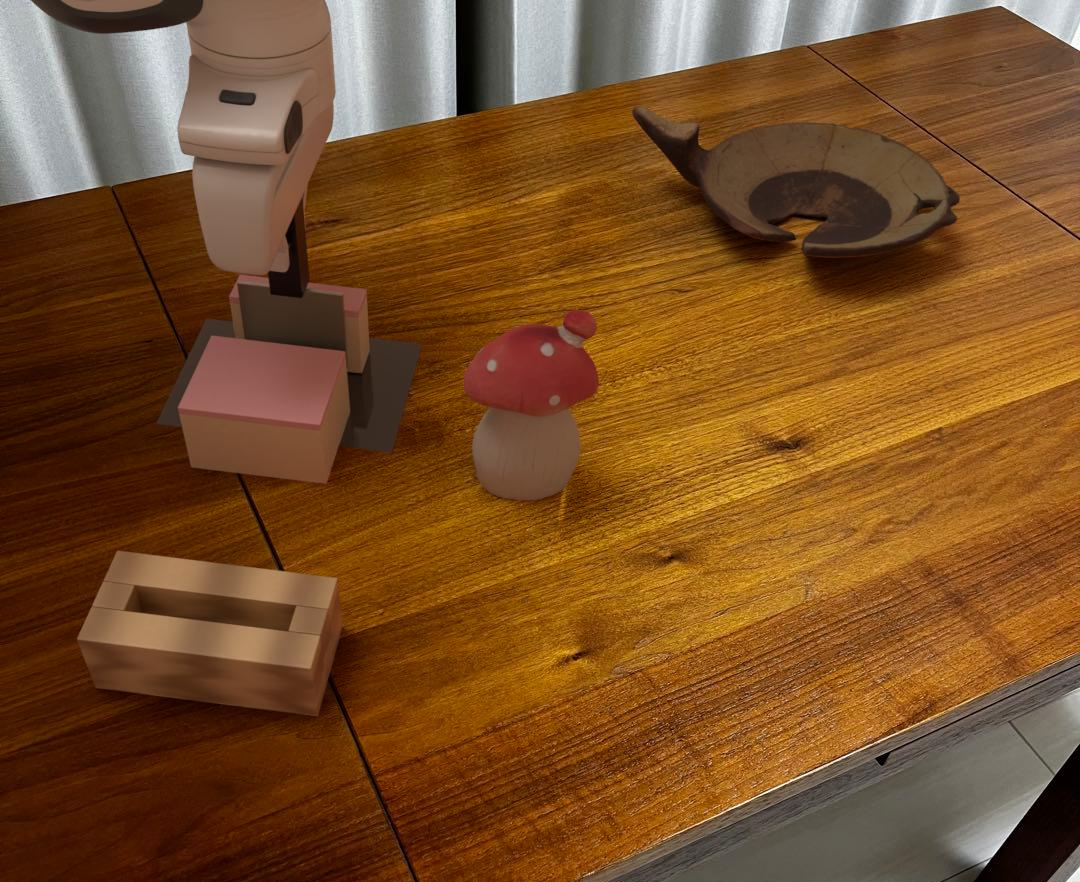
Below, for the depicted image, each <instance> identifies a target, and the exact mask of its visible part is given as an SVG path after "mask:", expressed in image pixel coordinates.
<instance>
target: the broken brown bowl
mask: <svg viewBox="0 0 1080 882" xmlns="http://www.w3.org/2000/svg"><path fill="white" fill-rule="evenodd" d="M631 111H632V112H631V113H632V117H633V119H634V120H635V121H636V123H637V124H638V126H639V127H640V128H641V129H642V130H643V132H644V133H645V134H646V135H647V136H648V137H649V138H650V140H651V141H652V142H653V143H654V144H655V145H656V147H658V149H659V150H660V151H661V152H662V153H663V154H664V156H665V157H666V158H667V160H668V162H670V163H671V164H672V166H673V168H675V169H676V171H677V172H678V173H679V175H680V176H681V177H682V178H683V179H684V180H685V181H686V182H687V183H689V184H690V185H691V186H694V187H696V188H700V190H701V194H702V197H703V200H704V201H705V202H706V204H707V205H708V207H709V208H710V209H711V210H712V212H713V213H714V214H715V215H716V216H717V217H718V218H720V219H721V220H722V221H723V222H724V223H726V224H727V225H728V226H730V227H731V228H733V229H734V230H736V231H738V232H740V233H742V234H744V235H746V236H748V237H750V238H754V239H758V240H762V241H768V242H771V243H773V242H775V243H777V242H779V243H785V242H788V243H789V242H792V241H796V240H797V237H796V236H797V233H794V232H792V231H789V230H786V228H781V227H779V226H775V225H774V224H777V223H780V222H783V221H784V220H786V219H788V218H789V217H792V216H802V217H811V218H812V217H813V218H824V219H826V220H825V221H823V222H822V223H821V224H818V225H817V227H816V228H814V229H813V230H812V231H810V232H809V233H808V234H807V235H806V236H805V237H804V238H803V240H802V243H801V252H802V254H803V255H804V256H807V257H813V258H831V259H832V258H833V259H835V258H839V259H840V258H858V257H859V258H860V257H867V256H875V255H881V254H886V253H890V252H893V251H896V250H899V249H903V248H905V247H906V248H907V247H909V246H912V245H914V244H918V243H920V242H921V241H924V240H926V239H927V238H929V237H930V236H932V235H933V234H935V232H937V231H938V230H940V229H942V228H945V227H946V228H947V227H949V226H951V225H953V224H955V223H956V222H957V221H958V216H957V215H956V214H955V213H954V212H953V210H952V208H953V207H954V206H957V205H958V204H960V203H959V202H960V197H961V196H960V195H959V193H958V192H957V191H956V190H954V188H952V187H950V186H949V185H947V184H946V182H945V179H944V177H943V175H941V173H940V172H939V170H937V168H935V167H934V165H933V164H932V163H931V162H930V161H929V160H928V159H926V158H925V157H924V156H923V155H921V154H920V153H918V152H916V151H915V150H914V149H912V148H911V147H909V146H907V145H905V144H903V143H901V142H900V141H897V140H896V139H893V138H890V137H888V136H885V135H883V134H880V133H879V132H875V131H872V130H869V129H867V128H862V127H848V126H846V125H845V124H836V123H826V122H809V121H807V122H786V123H785V122H784V123H779V124H772V125H764V126H760V127H757V128H752V129H748V130H745V131H741V132H738V133H736V134H733V135H731V136H729V137H726V138H725V139H724V140H722V141H720V142H719V143H718V144H715V146H714V147H712V148H711V149H705V148H704V147H703V146H701V145H700V143H699V134H700V124H699V123H698V122H687V123H679V122H674V121H671V120H668V119H666V118H664V117H661V116H659V115H658V114H656V112H653V111H651V110H650V109H648V108H646V107H644V106H640V105H638V106H637V105H636V106H634V107H633V108H632V110H631ZM930 208H933V209H932V210H931V211H929V212H922V213H919V212H920V211H921V210H924V209H930ZM918 213H919V214H918Z"/></svg>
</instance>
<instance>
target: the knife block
mask: <svg viewBox="0 0 1080 882" xmlns="http://www.w3.org/2000/svg"><path fill="white" fill-rule="evenodd" d="M109 565H110V566H109V568H108V570H107V572H106V574H105V576H104V578H103V581H102V584H101V586H100V587H99V590H98V591H97V594H96V596H95V598H94V600H93V603H92V605H91V607H90V609H89V611H88V614H87V616H86V618H85V620H84V622H83V625H82V627H81V629H80V631H79V633H78V635H77V638H76V641H77V644H78V646H79V650H80V651H81V654H82V657H83V659H84V661H85V664H86V667H87V669H88V672H89V675H90V678H91V680H92V682H93V685H94V687H95V688H96V689H102V690H108V691H109V690H111V691H118V692H125V693H126V692H127V693H133V694H141V695H149V696H155V697H165V698H172V699H173V698H174V699H181V700H188V701H195V702H203V703H211V704H217V705H218V704H220V705H227V706H234V707H235V706H236V707H242V708H251V709H259V710H267V711H273V712H282V713H289V714H297V715H305V716H312V717H313V716H314V717H318V716H319V713H320V710H321V706H322V702H323V700H324V699H323V698H324V695H325V691H326V689H327V688H326V687H327V684H328V681H329V677H330V674H331V670H332V666H333V663H334V659H335V655H336V652H337V648H338V645H339V642H340V639H341V634H342V631H343V627H344V626H343V625H344V624H343V617H342V609H341V598H340V589H339V588H340V587H339V581H338V580H339V579H338V577H332V576H324V575H315V574H307V573H300V572H294V571H293V572H292V571H285V570H277V569H267V568H259V567H251V566H245V565H244V566H243V565H235V564H228V563H219V562H213V561H204V560H195V559H187V558H180V557H173V556H172V557H171V556H165V555H157V554H147V553H139V552H132V551H124V550H116V552H115V554H114V557H113V559H112V561H111V564H109Z"/></svg>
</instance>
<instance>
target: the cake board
mask: <svg viewBox="0 0 1080 882" xmlns="http://www.w3.org/2000/svg"><path fill="white" fill-rule="evenodd" d="M211 336H220V337H229V338H235V332H234V325H233V321H232V320H231V321H230V320H222V319H214V318H206V319H205V321H204V323H203V325H202V327H201V329H200V331H199V333H198V335H197V338H196V339H195V341H194V344H193V346H192V348H191V350H190V351H189V354H188V356H187V358H186V360H185V363H183V364H184V365H183V367H182V369H181V371H180V373H179V375H178V376H177V379H176V381H175V383H174V386H173V388H172V390H171V392H170V394H169V396H168V398H167V400H166V401H165V404H164V406H163V408H162V409H161V410H162V411H161V413H160V414H159V416H158V418H157V420H156V423H155V424H157V425H162V426H171V427H179V428H182V424H181V420H180V416H179V411H178V406H179V404H180V402H181V400H182V398H183V395H184V393H185V391H186V389H187V387H188V385H189V383H190V380H191V378H192V376H193V374H194V372H195V370H196V368H197V365H198V363H199V361H200V359H201V357H202V355H203V353H204V350H205V348H206V346H207V344H208V342H209V340H210V338H211ZM369 348H370V351H369V354H368V357H367V360H366V363H365V366H364V369H363V372H362V373H354V372H347V379H348V391H349V403H350V414H349V417H348V420H347V423H346V426H345V429H344V432H343V435H342V438H341V441H340V445H339V447H344V448H352V449H353V448H354V449H360V450H368V451H369V450H370V451H375V452H377V451H378V452H385V453H393V451H394V448H395V443H396V440H397V438H398V434H399V430H400V426H401V422H402V418H403V415H404V412H405V408H406V404H407V401H408V397H409V393H410V390H411V387H412V383H413V379H414V375H415V372H416V369H417V365H418V361H419V359H420V358H419V357H420V354H421V350H422V348H423V344H422V343H418V342H417V343H416V342H407V341H399V340H391V339H382V338H373V337H369Z"/></svg>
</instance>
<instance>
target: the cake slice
mask: <svg viewBox="0 0 1080 882" xmlns="http://www.w3.org/2000/svg"><path fill="white" fill-rule="evenodd" d="M238 280H241V281H250V282H258V283H266V284H269V278H268V277H264V276H257V275H249V274H239V275H238V278H237V279H236V282H235V283H234V286H233V288H232V290H231V292H230V293H229V296H228V299H229V305H230V311H231V318H232V322H233V325H234V332H235V338H237V339H245V337H244V330H243V323H242V315H241V308H240V301H239V294H238V286H237V282H238ZM307 288H308V289H316V290H325V291H333V292H341V293H344V310H345V326H346V342H347V358H348V368H347V372H354V373H362V372H363V369H364V366H365V363H366V360H367V357H368V354H369V351H370V348H369V338H370V331H369V330H370V329H369V312H368V311H369V309H368V290H367V289H366V288H360V287H350V286H342V285H333V284H325V283H314V282H309V283H308V285H307Z"/></svg>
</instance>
